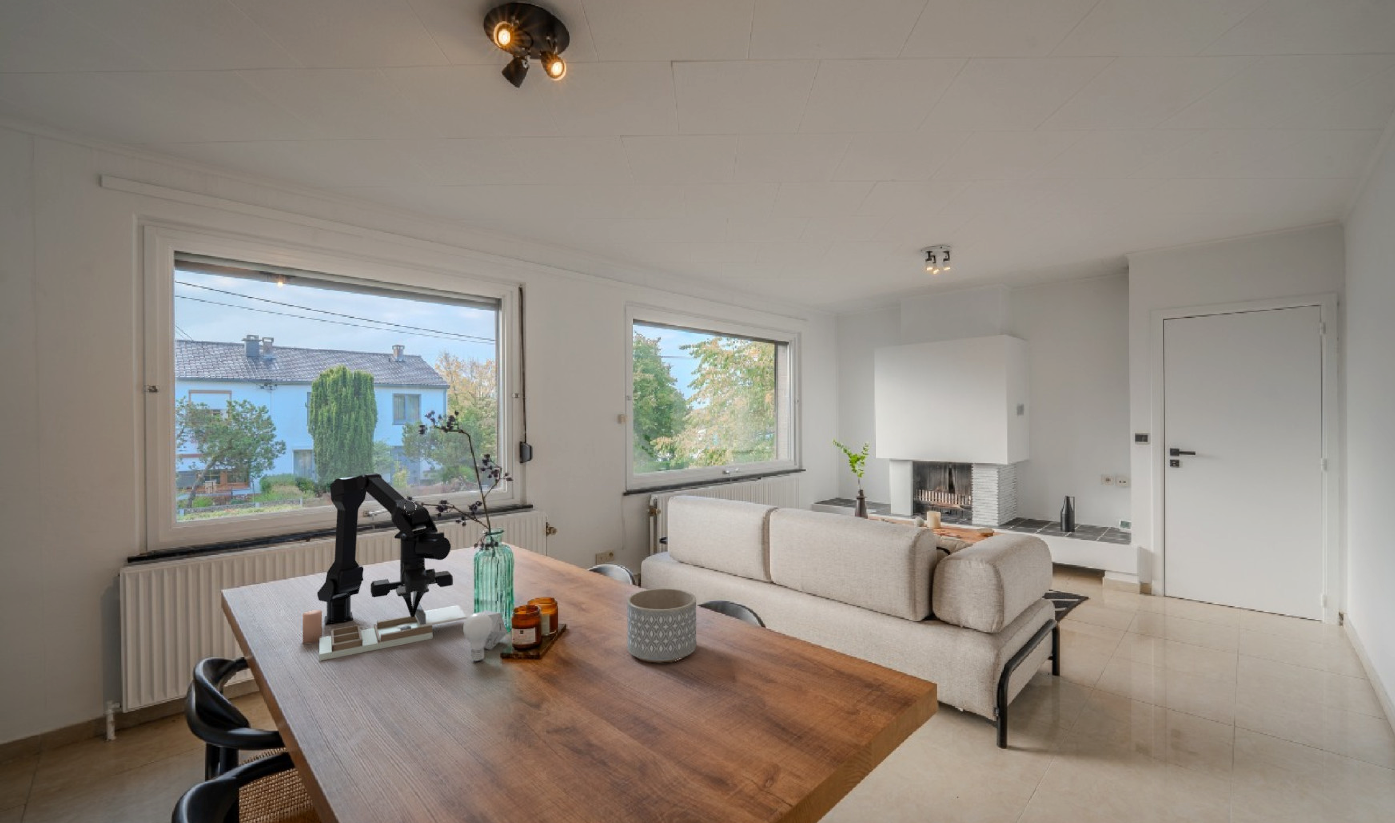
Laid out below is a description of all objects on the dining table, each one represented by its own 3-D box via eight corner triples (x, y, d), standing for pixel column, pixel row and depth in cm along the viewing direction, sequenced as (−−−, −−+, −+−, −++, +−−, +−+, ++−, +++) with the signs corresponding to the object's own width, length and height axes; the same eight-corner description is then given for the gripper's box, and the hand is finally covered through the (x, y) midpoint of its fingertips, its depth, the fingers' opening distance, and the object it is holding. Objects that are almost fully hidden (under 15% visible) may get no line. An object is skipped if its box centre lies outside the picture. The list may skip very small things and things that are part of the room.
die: (470, 659, 135) (497, 624, 135) (453, 632, 139) (478, 599, 140) (495, 659, 142) (520, 625, 142) (478, 634, 147) (502, 602, 147)
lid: (414, 614, 154) (414, 603, 154) (458, 607, 160) (458, 596, 160) (420, 627, 144) (420, 615, 145) (466, 618, 151) (466, 607, 151)
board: (319, 643, 142) (319, 631, 142) (425, 624, 156) (425, 612, 156) (319, 660, 132) (319, 647, 132) (432, 638, 146) (432, 626, 146)
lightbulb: (456, 663, 131) (456, 615, 131) (479, 653, 136) (479, 606, 136) (476, 669, 128) (476, 619, 128) (498, 658, 133) (498, 611, 133)
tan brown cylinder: (302, 639, 145) (303, 611, 145) (321, 636, 147) (321, 608, 147) (302, 644, 142) (302, 616, 142) (321, 641, 144) (321, 613, 144)
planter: (665, 673, 126) (665, 615, 126) (613, 654, 136) (612, 600, 136) (709, 648, 139) (709, 596, 139) (658, 633, 149) (658, 584, 149)
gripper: (373, 568, 137) (373, 633, 137) (457, 557, 147) (457, 618, 147) (370, 558, 146) (370, 620, 146) (449, 549, 156) (448, 606, 156)
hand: (412, 616), depth 148 cm, fingers closed
